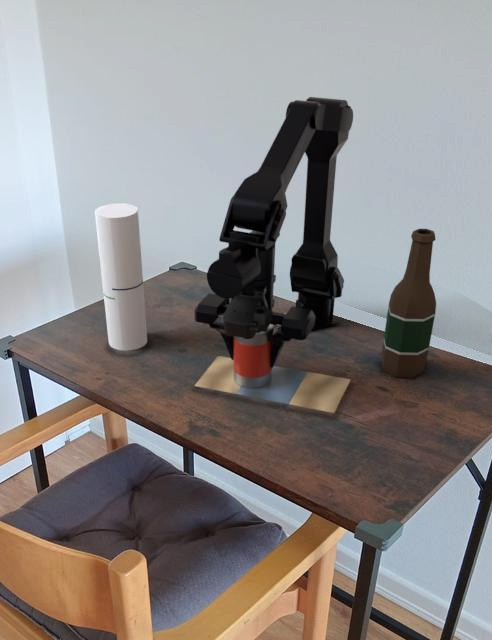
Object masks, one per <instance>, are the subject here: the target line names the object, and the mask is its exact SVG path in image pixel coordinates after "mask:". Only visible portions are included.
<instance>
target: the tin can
mask: <svg viewBox="0 0 492 640" xmlns="http://www.w3.org/2000/svg"><path fill="white" fill-rule="evenodd" d="M274 328H275V325H272V324H270V325H269V327H268V329H267V331H266V332H264V331H259V333H256V334H255V336H254V337H253V338H252V339H244V338H242V337H236V336H234V357H233V369H234V381H235V383H236V384H238V385H240V386H241V387H245V388H260V387H264V386H266V385H268V384H269V383H270V382H271V377H272V368H271V367H270V359H271V352H272V345H273V341H272V336H273V335H274V333H275V332H274V330H275V329H274Z"/></svg>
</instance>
